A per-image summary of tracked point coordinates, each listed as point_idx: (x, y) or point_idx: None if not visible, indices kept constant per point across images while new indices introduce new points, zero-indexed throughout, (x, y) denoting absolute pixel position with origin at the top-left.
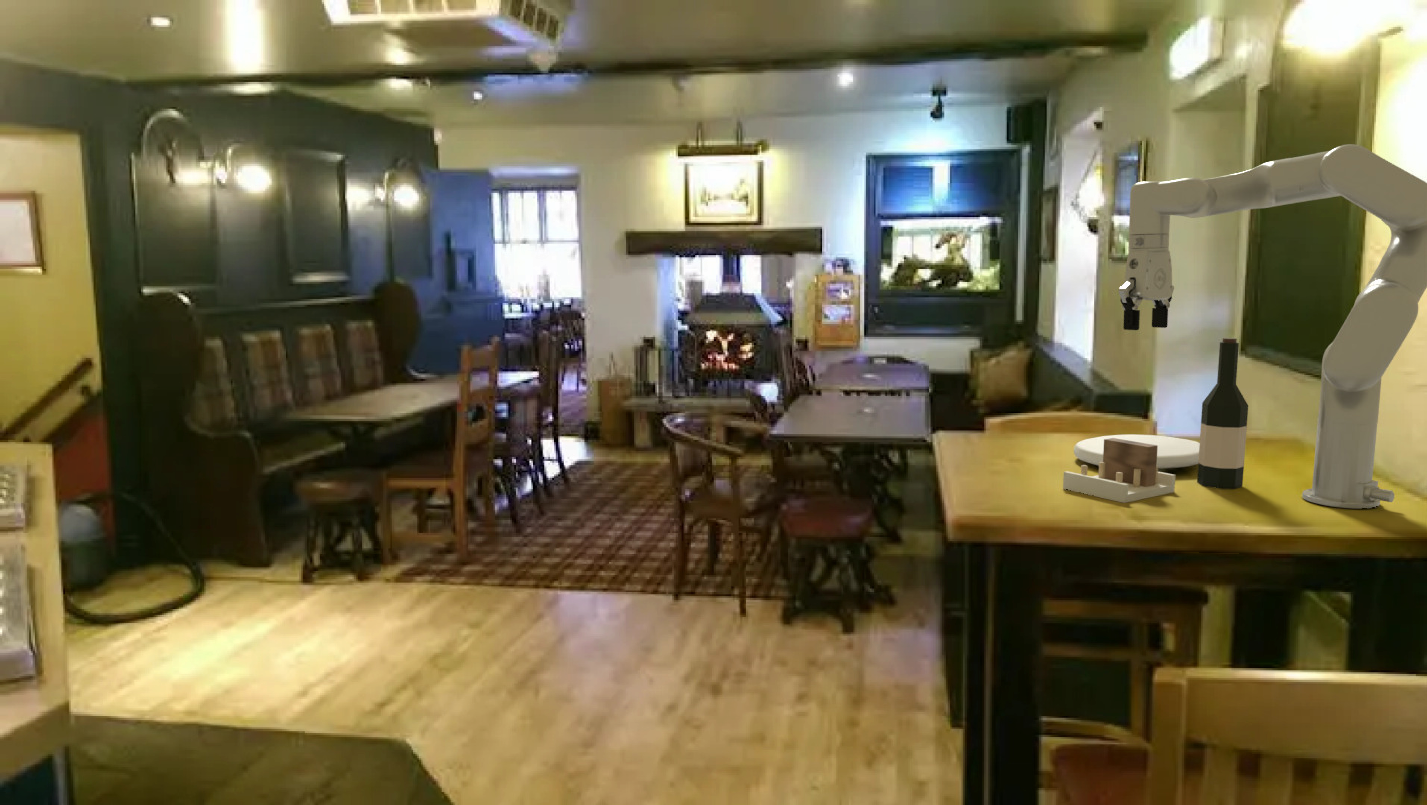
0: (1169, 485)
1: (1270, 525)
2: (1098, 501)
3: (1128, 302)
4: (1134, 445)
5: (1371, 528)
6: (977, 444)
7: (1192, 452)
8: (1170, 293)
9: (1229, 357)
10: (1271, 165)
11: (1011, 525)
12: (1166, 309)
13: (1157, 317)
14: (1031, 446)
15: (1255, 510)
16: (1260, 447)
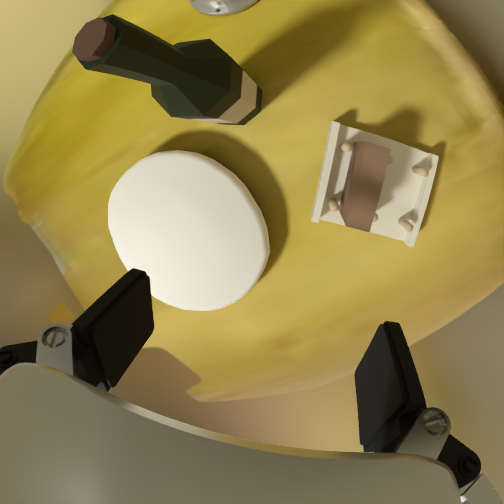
0: (341, 126)
1: (402, 9)
2: (438, 181)
3: (471, 451)
4: (384, 174)
5: None
6: (232, 388)
7: (184, 157)
8: (16, 384)
9: (148, 34)
10: None
11: None
12: (87, 325)
13: (128, 337)
14: (197, 352)
15: (350, 26)
16: (37, 182)
